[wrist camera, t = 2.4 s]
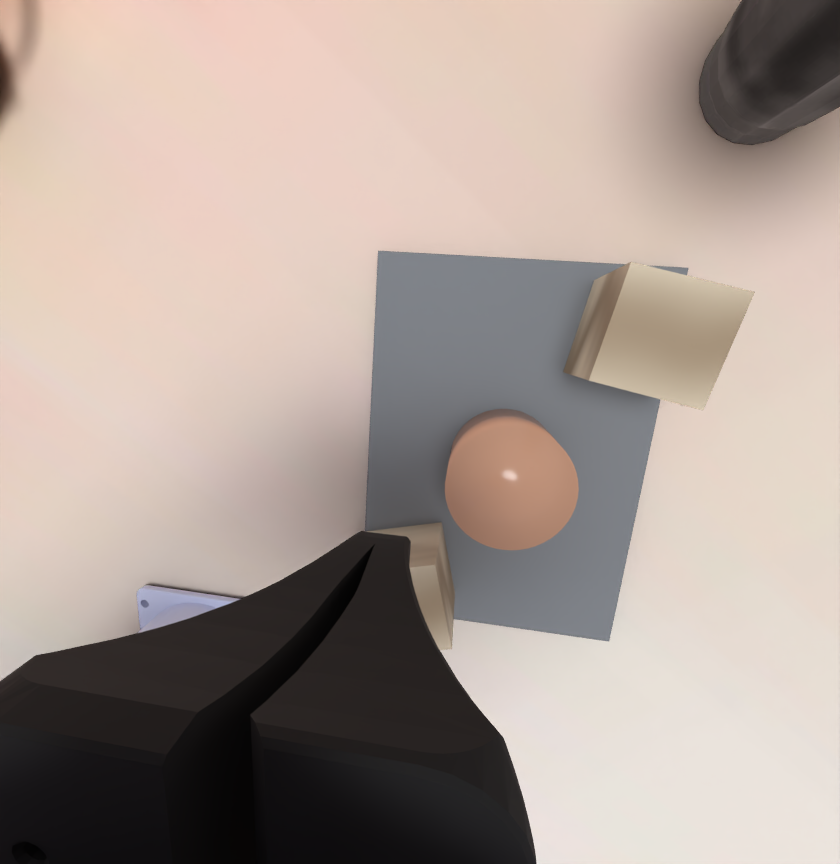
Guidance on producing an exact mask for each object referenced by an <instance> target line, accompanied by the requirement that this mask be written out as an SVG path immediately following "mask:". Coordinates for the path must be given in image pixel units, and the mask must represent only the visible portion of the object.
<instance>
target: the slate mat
mask: <svg viewBox="0 0 840 864" xmlns="http://www.w3.org/2000/svg"><path fill="white" fill-rule="evenodd" d="M624 265H626V264H609V263H591V262H573V261H554V260H536V259H518V258H500V257H482V256H464V255H445V254H427V253H409V252H391V251H378V265H377V287H376V308H375V329H374V351H373V372H372V393H371V415H370V436H369V457H368V479H367V500H366V521H365V532H366V531H374V530H382V529H390V528H398V527H407V526H415V525H423V524H431V523H439V522H442V526H443V532H444V537H445V542H446V548H447V553H448V558H449V563H450V569H451V574H452V579H453V585H454V590H455V601H454V618H453V619H458V620H465V621H472V622H479V623H486V624H492V625H499V626H506V627H513V628H520V629H527V630H534V631H541V632H547V633H554V634H561V635H568V636H575V637H582V638H589V639H596V640H602V641H609V639H610V634H611V629H612V625H613V620H614V615H615V611H616V606H617V601H618V596H619V592H620V587H621V582H622V578H623V573H624V568H625V564H626V559H627V554H628V549H629V545H630V540H631V535H632V531H633V526H634V521H635V517H636V512H637V507H638V502H639V498H640V493H641V488H642V484H643V479H644V474H645V470H646V465H647V460H648V455H649V451H650V446H651V441H652V437H653V432H654V427H655V423H656V418H657V413H658V408H659V404H660V399H657V398H653V397H650V396H646V395H642V394H638V393H634V392H631V391H627V390H623V389H619V388H615V387H611V386H608V385H604V384H600V383H596V382H592V381H589V380H586V379H582V378H579V377H576V376H573V375H570V374H567V373H564V372H563V371H564V368H565V365H566V362H567V359H568V356H569V353H570V350H571V347H572V344H573V341H574V339H575V336H576V333H577V330H578V327H579V324H580V321H581V318H582V315H583V312H584V309H585V306H586V303H587V300H588V297H589V294H590V291H591V288H592V285H593V283H594V280H595V279H598V278H600V277H602V276H604V275H606V274H608V273H610V272H612V271H614V270H616V269H618V268H620V267H622V266H624ZM650 267H654V268H658V269H662V270H667V271H671V272H675V273H679V274H683V275H687V272H688V268H682V267H663V266H650ZM494 409H512V410H517V411H521V412H524V413H526V414H528V415H530V416H532V417H533V418H535V419H536V420H537V421H539V422H540V423H541V424H542V425H543V426H544V427H545V428H546V430H547V431H548V432H549V433H550V434H551V435H552V436H553V438H554V439H555V440H556V441H557V442H558V443H559V444H560V446H561V447H562V448H563V449H564V450H565V451H566V453H567V454H568V456H569V457H570V459H571V461H572V462H573V464H574V467H575V470H576V473H577V477H578V486H579V491H578V499H577V503H576V507H575V509H574V512H573V514H572V516H571V518H570V519H569V521H568V522H567V524H566V525H565V526H564V527H563V528H562V529H561V530H560V531H559V532H558V533H557V534H556V535H555V536H554V537H552V538H551V539H549V540H547V541H546V542H544V543H542V544H540V545H537V546H535V547H531V548H528V549H522V550H501V549H495V548H492V547H489V546H486V545H483V544H481V543H479V542H477V541H476V540H474V539H472V538H471V537H470V536H468V535H467V534H466V533H465V532H464V531H463V530H462V529H461V528H460V527H459V526H458V525H457V523H456V522H455V521H454V519H453V517H452V515H451V514H450V511H449V509H448V506H447V502H446V497H445V481H446V474H447V469H448V463H449V457H450V451H451V446H452V443H453V441H454V439H455V436H456V435H457V433H458V432H459V430H460V429H461V428H462V427H463V425H464V424H466V423H467V422H468V421H469V420H470V419H472V418H473V417H475V416H477V415H479V414H481V413H483V412H486V411H489V410H494Z"/></svg>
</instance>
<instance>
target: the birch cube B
mask: <svg viewBox="0 0 840 864" xmlns="http://www.w3.org/2000/svg"><path fill="white" fill-rule="evenodd" d="M754 293H755V292H753V291H749V290H745V289H741V288H737V287H732V286H728V285H724V284H720V283H716V282H712V281H708V280H704V279H699V278H695V277H691V276H687V275H683V274H679V273H675V272H671V271H667V270H662V269H658V268H654V267H650V266H646V265H642V264H638V263H634V262H630V263H628V264H626V265H624V266H622V267H620V268H618V269H616V270H614V271H612V272H610V273H608V274H606V275H604V276H602V277H600V278H598V279H595V280H594V283H593V285H592V288H591V291H590V294H589V297H588V300H587V303H586V306H585V309H584V312H583V315H582V318H581V321H580V324H579V327H578V330H577V333H576V336H575V339H574V341H573V344H572V347H571V350H570V353H569V356H568V359H567V362H566V365H565V368H564V371H563V372H564V373H567V374H570V375H573V376H576V377H579V378H582V379H586V380H589V381H592V382H596V383H600V384H604V385H608V386H611V387H615V388H619V389H623V390H627V391H631V392H634V393H638V394H642V395H646V396H650V397H653V398H657V399H661V400H665V401H669V402H673V403H676V404H680V405H684V406H688V407H692V408H695V409H699V410H704V407H705V405H706V403H707V401H708V398H709V396H710V394H711V391H712V389H713V387H714V385H715V382H716V380H717V378H718V375H719V373H720V371H721V368H722V366H723V364H724V362H725V359H726V357H727V355H728V352H729V350H730V348H731V346H732V343H733V341H734V339H735V336H736V334H737V332H738V329H739V327H740V325H741V323H742V320H743V318H744V316H745V313H746V311H747V309H748V307H749V304H750V302H751V300H752V297H753V295H754Z"/></svg>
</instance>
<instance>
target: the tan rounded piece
mask: <svg viewBox="0 0 840 864" xmlns="http://www.w3.org/2000/svg"><path fill="white" fill-rule="evenodd" d="M578 491H579V486H578V477H577V473H576V470H575V467H574V464H573V462H572V461H571V459H570V457H569V456H568V454H567V453H566V451H565V450H564V449H563V448H562V447H561V446H560V444H559V443H558V442H557V441H556V440H555V439H554V438H553V436H552V435H551V434H550V433H549V432H548V431H547V430H546V428H545V427H544V426H543V425H542V424H541V423H540V422H539V421H537V420H536V419H535V418H533V417H532V416H530V415H528V414H526V413H524V412H521V411H517V410H512V409H494V410H489V411H486V412H483V413H481V414H479V415H477V416H475V417H473V418H472V419H470V420H469V421H468V422H467V423H466V424H464V425H463V427H462V428H461V429H460V430H459V432H458V433H457V435H456V436H455V439H454V441H453V443H452V446H451V451H450V457H449V463H448V469H447V474H446V481H445V497H446V502H447V506H448V509H449V511H450V514H451V515H452V517H453V519H454V521H455V522H456V523H457V525H458V526H459V527H460V528H461V529H462V530H463V531H464V532H465V533H466V534H467V535H468V536H470V537H471V538H472V539H474V540H476V541H477V542H479V543H481V544H483V545H486V546H489V547H492V548H495V549H501V550H522V549H528V548H531V547H535V546H537V545H540V544H542V543H544V542H546V541H547V540H549V539H551V538H552V537H554V536H555V535H556V534H557V533H558V532H559V531H560V530H561V529H562V528H563V527H564V526H565V525H566V524H567V522H568V521H569V519H570V518H571V516H572V514H573V512H574V509H575V507H576V503H577V499H578Z"/></svg>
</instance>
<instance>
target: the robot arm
mask: <svg viewBox="0 0 840 864" xmlns="http://www.w3.org/2000/svg"><path fill="white" fill-rule="evenodd" d="M410 548H411V541H410V540H409V538H408V537H406V536H398V535H390V534H382V533H373V532H365V531H361V532H359V533H357V534H355V535H354V536H352V537H351V538H349V539H348V540H346V541H345V542H343V543H342V544H340V545H339V546H337V547H336V548H334V549H333V550H331V551H329V552H328V553H326V554H325V555H323V556H322V557H320V558H319V559H317V560H315V561H314V562H312V563H310V564H309V565H307V566H305V567H303V568H302V569H300V570H298V571H296V572H295V573H293V574H291V575H289V576H288V577H286V578H284V579H282V580H280V581H278V582H276V583H274V584H272V585H270V586H268V587H266V588H264V589H262V590H260V591H258V592H255V593H253V594H251V595H249V596H247V597H244V598H242V599H237V598H231V597H224V596H217V595H210V594H204V593H197V592H190V591H184V590H177V589H170V588H163V587H157V586H150V585H145V586H143V587H141V588H140V589H139V590H138V591H137V602H138V612H139V622H140V631H139V632H138V633H137V634H133V635H129V636H125V637H121V638H117V639H113V640H108V641H104V642H99V643H94V644H90V645H85V646H80V647H75V648H71V649H66V650H61V651H57V652H51V653H46V654H41V655H36V656H34V657H33V658H32V659H30V660H29V661H27V662H26V663H25V664H23V665H22V666H21V667H19V668H18V669H16V670H15V671H14V672H12V673H11V674H10V675H8V676H7V677H6V678H4V679H3V680H1V681H0V864H536V855H535V849H534V843H533V838H532V833H531V829H530V824H529V820H528V815H527V811H526V807H525V803H524V800H523V796H522V792H521V789H520V786H519V783H518V779H517V776H516V773H515V770H514V767H513V764H512V761H511V758H510V755H509V752H508V749H507V746H506V743H505V741H504V738H503V737H502V736H501V734H500V733H499V732H498V731H497V730H496V728H495V727H494V726H493V725H492V724H491V723H490V721H489V720H488V719H487V718H486V717H485V716H484V714H483V713H482V712H481V711H480V710H479V708H478V707H477V706H476V705H475V703H474V702H473V701H472V699H471V698H470V697H469V695H468V694H467V692H466V691H465V690H464V688H463V687H462V685H461V684H460V683H459V681H458V680H457V678H456V677H455V675H454V673H453V672H452V670H451V668H450V667H449V665H448V663H447V662H446V660H445V658H444V657H443V655H442V653H441V652H440V650H439V648H438V646H437V644H436V642H435V640H434V638H433V636H432V634H431V632H430V630H429V628H428V626H427V623H426V621H425V619H424V616H423V614H422V611H421V608H420V606H419V603H418V599H417V596H416V593H415V590H414V586H413V582H412V577H411V572H410V567H409V563H410Z"/></svg>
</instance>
